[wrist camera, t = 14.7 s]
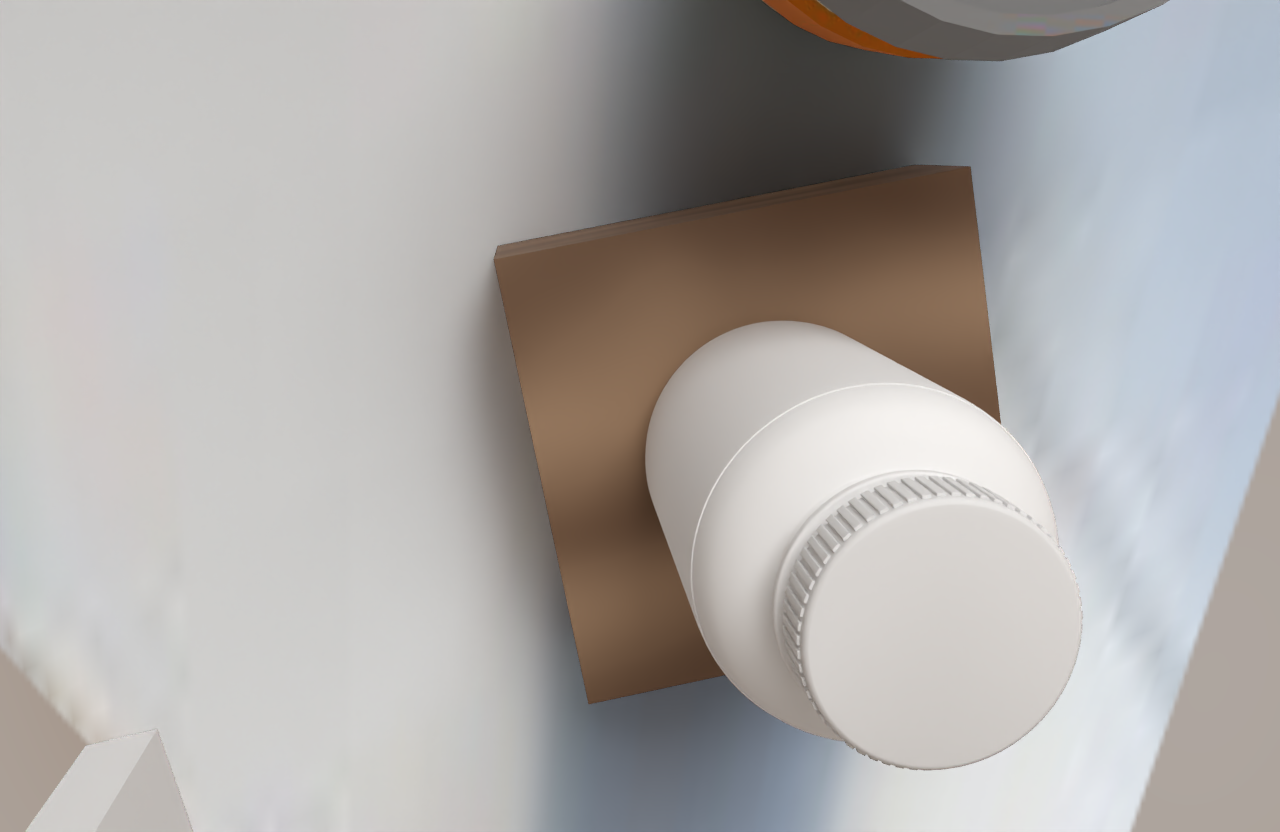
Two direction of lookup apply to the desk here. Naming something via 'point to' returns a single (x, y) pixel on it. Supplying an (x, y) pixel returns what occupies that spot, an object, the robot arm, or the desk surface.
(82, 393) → the desk surface
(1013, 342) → the desk surface
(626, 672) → the walnut base
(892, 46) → the reusable coffee cup
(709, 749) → the desk surface
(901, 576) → the pill bottle
